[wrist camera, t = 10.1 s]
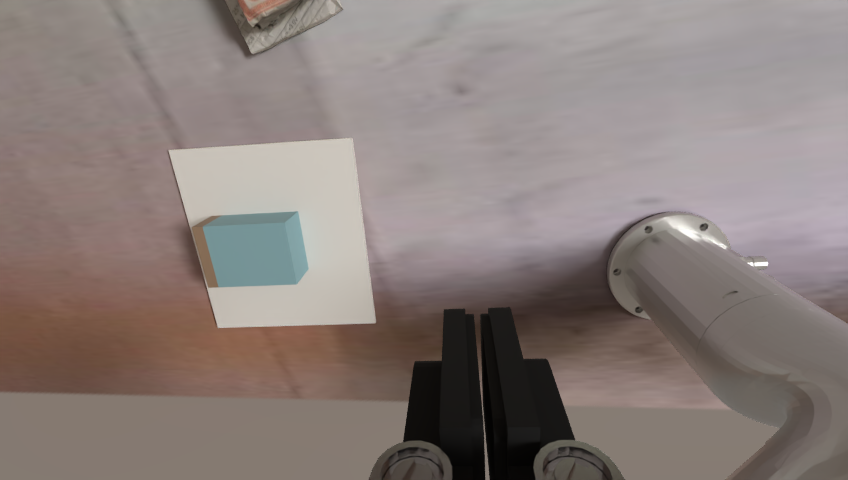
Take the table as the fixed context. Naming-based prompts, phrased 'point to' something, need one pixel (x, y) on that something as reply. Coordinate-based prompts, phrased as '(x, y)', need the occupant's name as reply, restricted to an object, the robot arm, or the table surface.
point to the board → (319, 217)
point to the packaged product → (278, 19)
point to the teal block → (251, 249)
